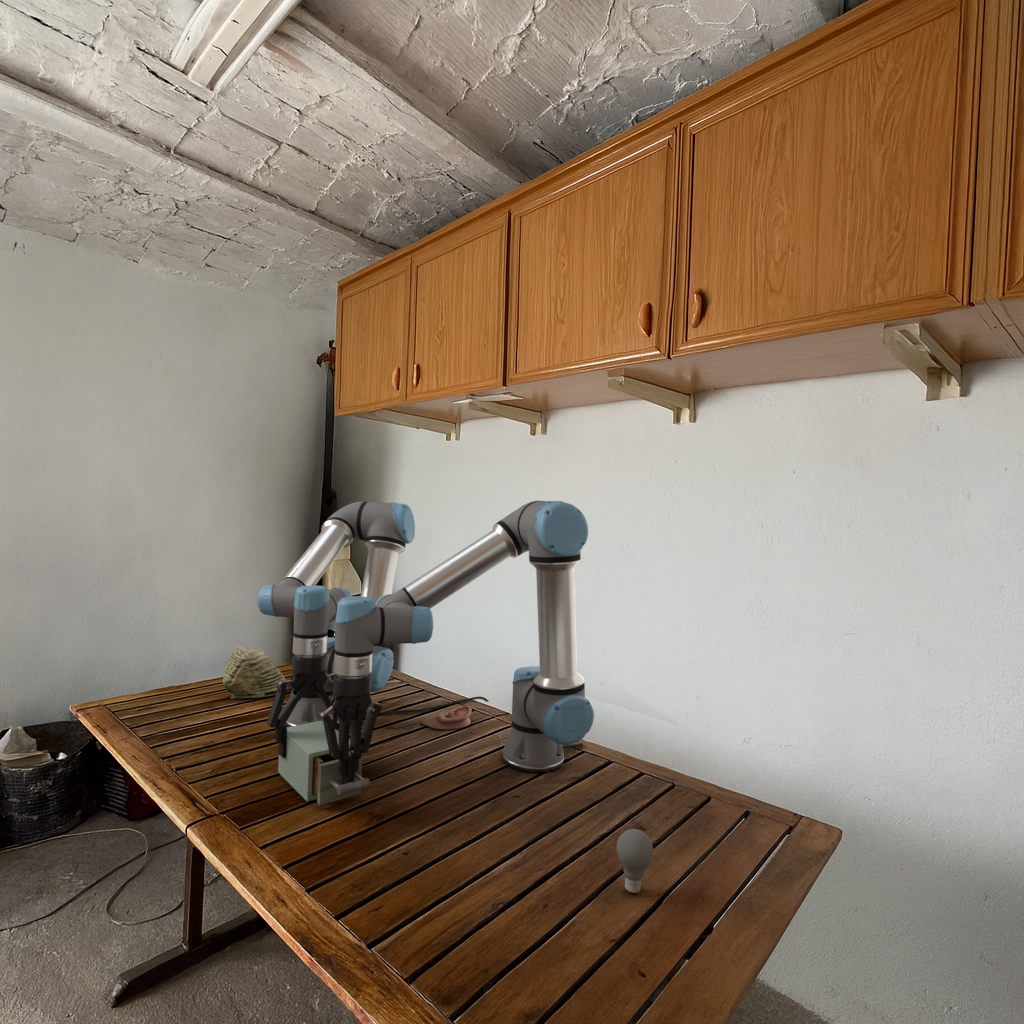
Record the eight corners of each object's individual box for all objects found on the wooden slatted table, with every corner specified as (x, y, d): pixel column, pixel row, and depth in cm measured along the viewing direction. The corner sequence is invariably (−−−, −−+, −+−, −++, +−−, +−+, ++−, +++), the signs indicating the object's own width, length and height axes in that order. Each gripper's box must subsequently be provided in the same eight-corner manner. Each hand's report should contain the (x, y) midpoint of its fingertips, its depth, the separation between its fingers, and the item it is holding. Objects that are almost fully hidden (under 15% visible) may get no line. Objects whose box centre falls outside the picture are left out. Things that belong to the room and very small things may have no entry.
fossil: (218, 695, 195) (220, 647, 195) (278, 685, 208) (279, 640, 207) (228, 703, 189) (230, 653, 188) (289, 692, 201) (290, 645, 201)
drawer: (375, 805, 129) (376, 766, 129) (332, 818, 123) (334, 777, 123) (329, 767, 146) (331, 732, 146) (290, 777, 140) (292, 741, 140)
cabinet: (353, 788, 138) (355, 743, 138) (307, 801, 131) (308, 753, 131) (321, 761, 151) (323, 720, 151) (277, 772, 144) (279, 728, 144)
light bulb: (610, 879, 108) (613, 822, 108) (644, 879, 109) (647, 822, 109) (619, 902, 102) (622, 840, 102) (655, 901, 103) (658, 840, 103)
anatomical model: (418, 712, 176) (431, 700, 187) (417, 726, 176) (431, 713, 188) (464, 718, 174) (475, 705, 185) (463, 732, 174) (474, 718, 185)
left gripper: (264, 664, 135) (260, 767, 135) (363, 651, 149) (359, 744, 150) (253, 656, 140) (249, 755, 141) (349, 645, 155) (345, 734, 155)
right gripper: (329, 683, 121) (324, 805, 121) (390, 674, 129) (385, 788, 130) (314, 673, 127) (309, 790, 127) (373, 665, 135) (368, 774, 135)
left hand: (306, 750), depth 145 cm, fingers closed on cabinet, 10 cm apart
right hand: (347, 789), depth 128 cm, fingers closed
